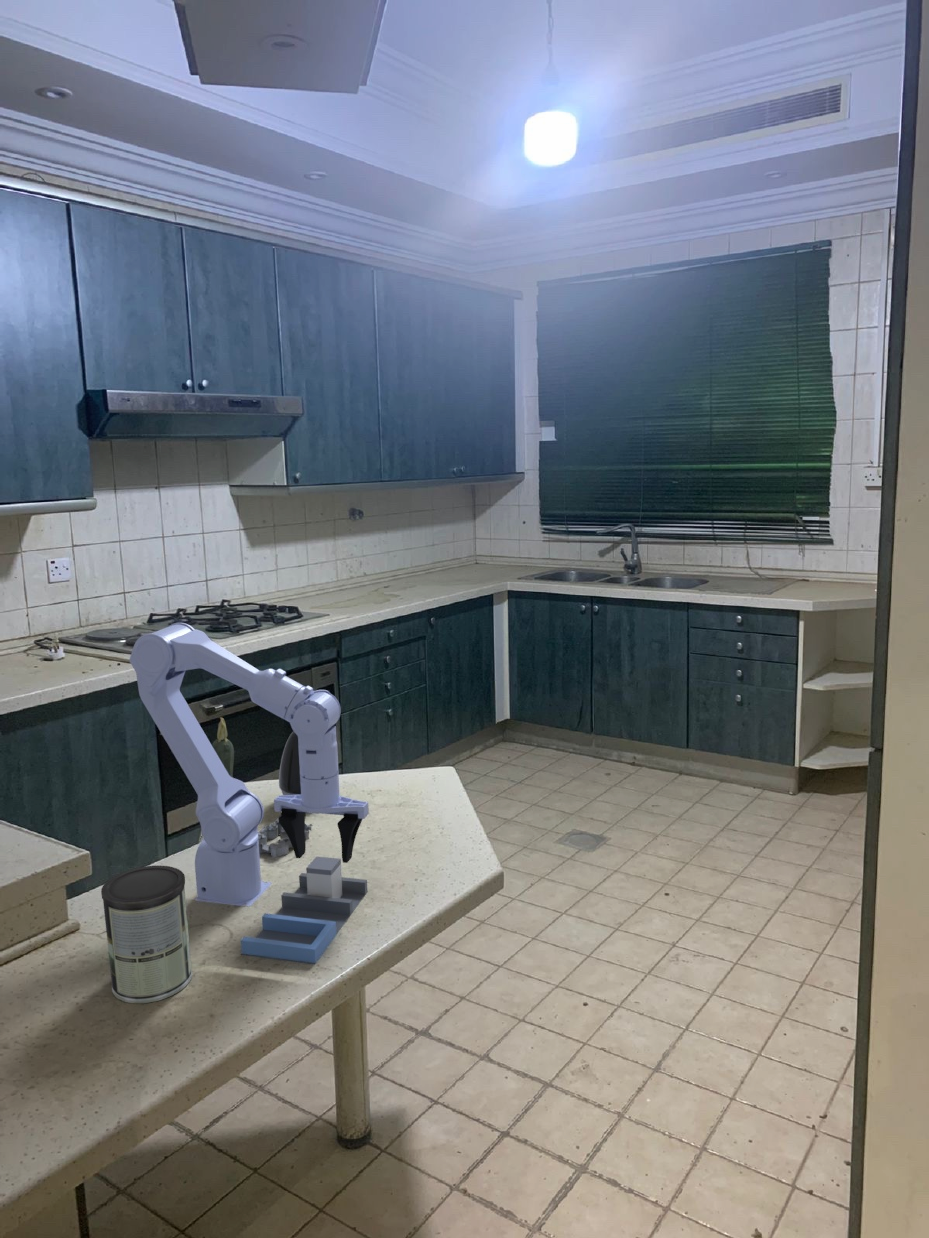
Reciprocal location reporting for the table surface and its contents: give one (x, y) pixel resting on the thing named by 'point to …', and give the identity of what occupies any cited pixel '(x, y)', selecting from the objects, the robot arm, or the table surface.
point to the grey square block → (324, 877)
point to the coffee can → (147, 933)
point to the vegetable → (224, 748)
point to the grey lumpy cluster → (272, 833)
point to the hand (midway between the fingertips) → (323, 857)
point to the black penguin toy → (290, 767)
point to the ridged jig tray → (304, 923)
